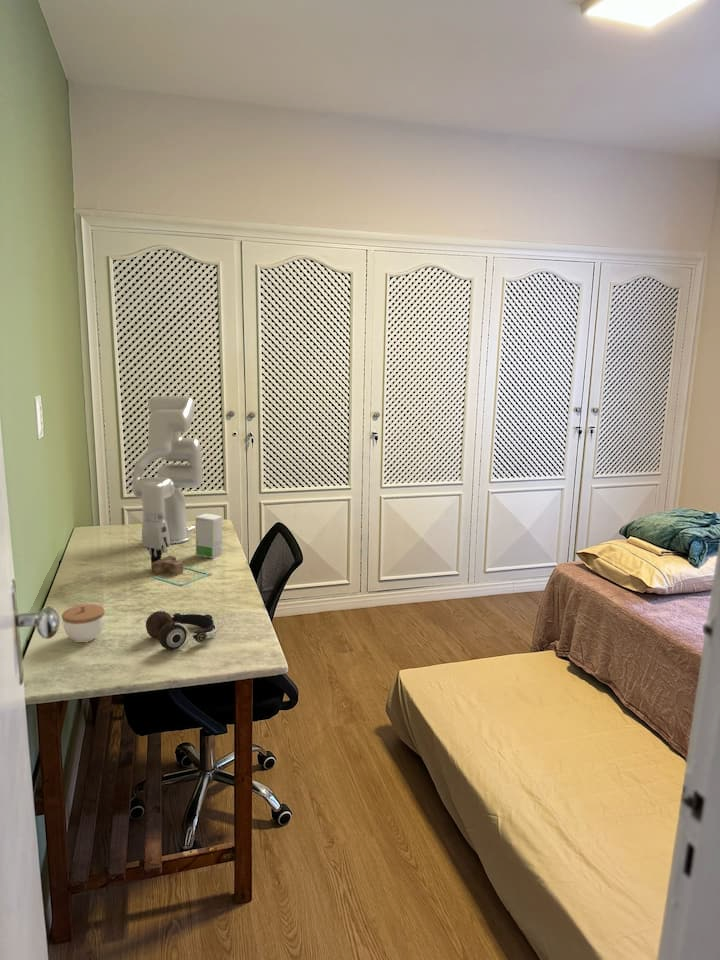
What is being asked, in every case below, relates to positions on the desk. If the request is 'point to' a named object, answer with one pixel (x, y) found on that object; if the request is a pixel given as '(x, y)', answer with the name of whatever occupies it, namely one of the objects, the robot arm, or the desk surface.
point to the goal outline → (186, 582)
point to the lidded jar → (83, 622)
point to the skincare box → (208, 535)
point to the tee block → (167, 566)
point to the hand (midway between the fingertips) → (156, 565)
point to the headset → (178, 628)
